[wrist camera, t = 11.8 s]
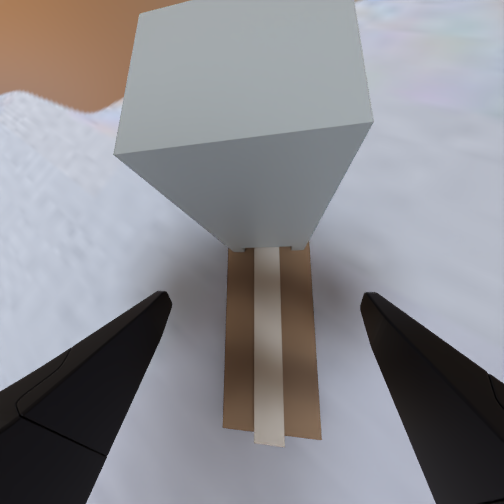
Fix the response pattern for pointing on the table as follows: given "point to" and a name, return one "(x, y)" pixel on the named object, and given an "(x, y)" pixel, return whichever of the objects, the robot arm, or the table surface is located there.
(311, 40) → the block
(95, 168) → the table surface
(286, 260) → the rail board
